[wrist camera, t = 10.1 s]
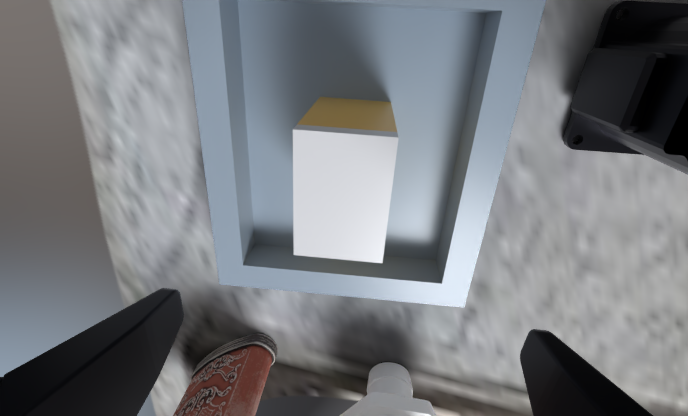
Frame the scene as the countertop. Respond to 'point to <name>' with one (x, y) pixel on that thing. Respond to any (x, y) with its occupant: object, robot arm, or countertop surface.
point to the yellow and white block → (343, 179)
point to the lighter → (230, 379)
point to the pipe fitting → (390, 394)
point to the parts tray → (362, 84)
